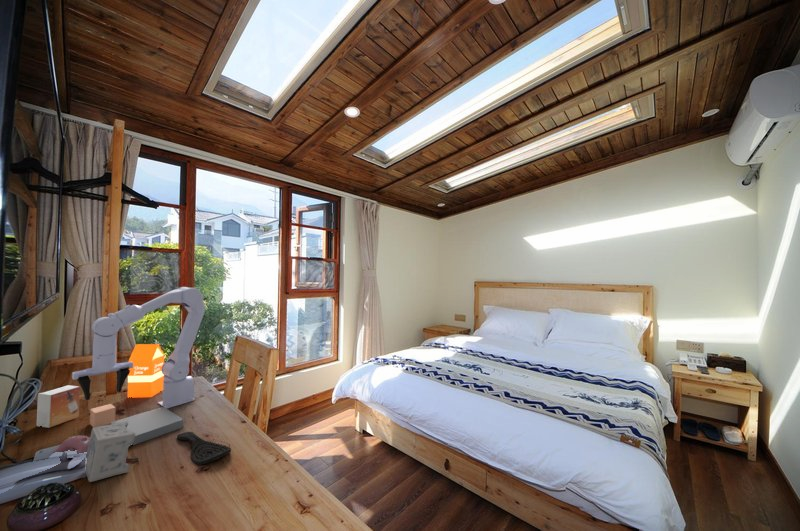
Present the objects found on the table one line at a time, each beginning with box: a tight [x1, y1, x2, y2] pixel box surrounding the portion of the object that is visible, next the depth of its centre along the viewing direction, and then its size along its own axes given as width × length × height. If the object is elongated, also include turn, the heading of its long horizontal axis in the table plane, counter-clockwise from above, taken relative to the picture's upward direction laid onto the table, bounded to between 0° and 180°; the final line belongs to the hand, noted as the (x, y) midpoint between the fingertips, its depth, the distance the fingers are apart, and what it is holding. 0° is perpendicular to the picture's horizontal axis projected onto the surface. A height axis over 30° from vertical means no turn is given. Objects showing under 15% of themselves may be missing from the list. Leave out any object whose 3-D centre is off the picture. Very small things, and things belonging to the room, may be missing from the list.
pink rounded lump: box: [52, 434, 90, 454], centre depth 82 cm, size 10×5×7 cm, turn 71°
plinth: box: [109, 406, 184, 446], centre depth 99 cm, size 14×16×2 cm
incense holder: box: [85, 422, 135, 483], centre depth 79 cm, size 10×8×10 cm
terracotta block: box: [89, 403, 116, 428], centre depth 102 cm, size 5×5×5 cm
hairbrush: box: [176, 431, 232, 466], centre depth 89 cm, size 8×4×25 cm
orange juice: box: [127, 343, 165, 399], centre depth 126 cm, size 8×9×20 cm
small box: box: [36, 384, 81, 429], centre depth 103 cm, size 8×6×10 cm
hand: (103, 395), depth 102 cm, fingers open, 7 cm apart
